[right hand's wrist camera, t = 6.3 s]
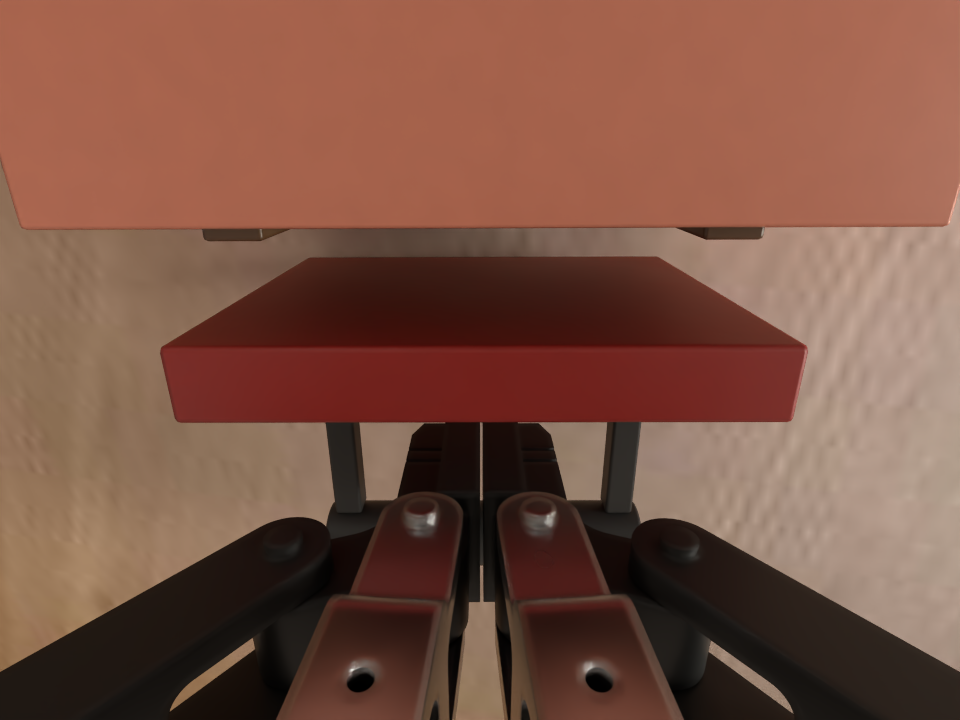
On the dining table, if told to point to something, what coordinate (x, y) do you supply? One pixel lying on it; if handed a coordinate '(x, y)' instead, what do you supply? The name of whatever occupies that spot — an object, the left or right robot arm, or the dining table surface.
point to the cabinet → (480, 113)
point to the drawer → (484, 356)
